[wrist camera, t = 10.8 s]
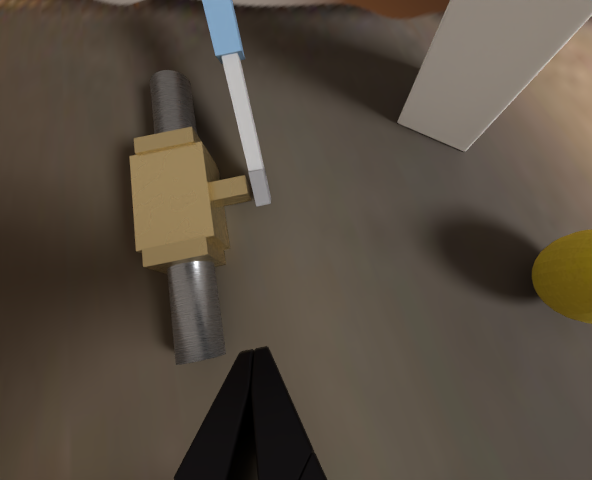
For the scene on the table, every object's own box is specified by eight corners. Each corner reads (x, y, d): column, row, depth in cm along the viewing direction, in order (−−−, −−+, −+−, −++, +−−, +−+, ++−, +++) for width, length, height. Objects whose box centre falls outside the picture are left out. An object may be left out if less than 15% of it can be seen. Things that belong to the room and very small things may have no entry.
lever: (284, 201, 21) (213, -142, 16) (242, 210, 21) (155, -130, 16) (283, 193, 24) (223, -99, 18) (246, 201, 24) (174, -89, 18)
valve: (278, 341, 22) (271, 347, 18) (173, 362, 22) (142, 373, 18) (234, 86, 28) (221, 47, 23) (150, 104, 28) (121, 67, 23)
